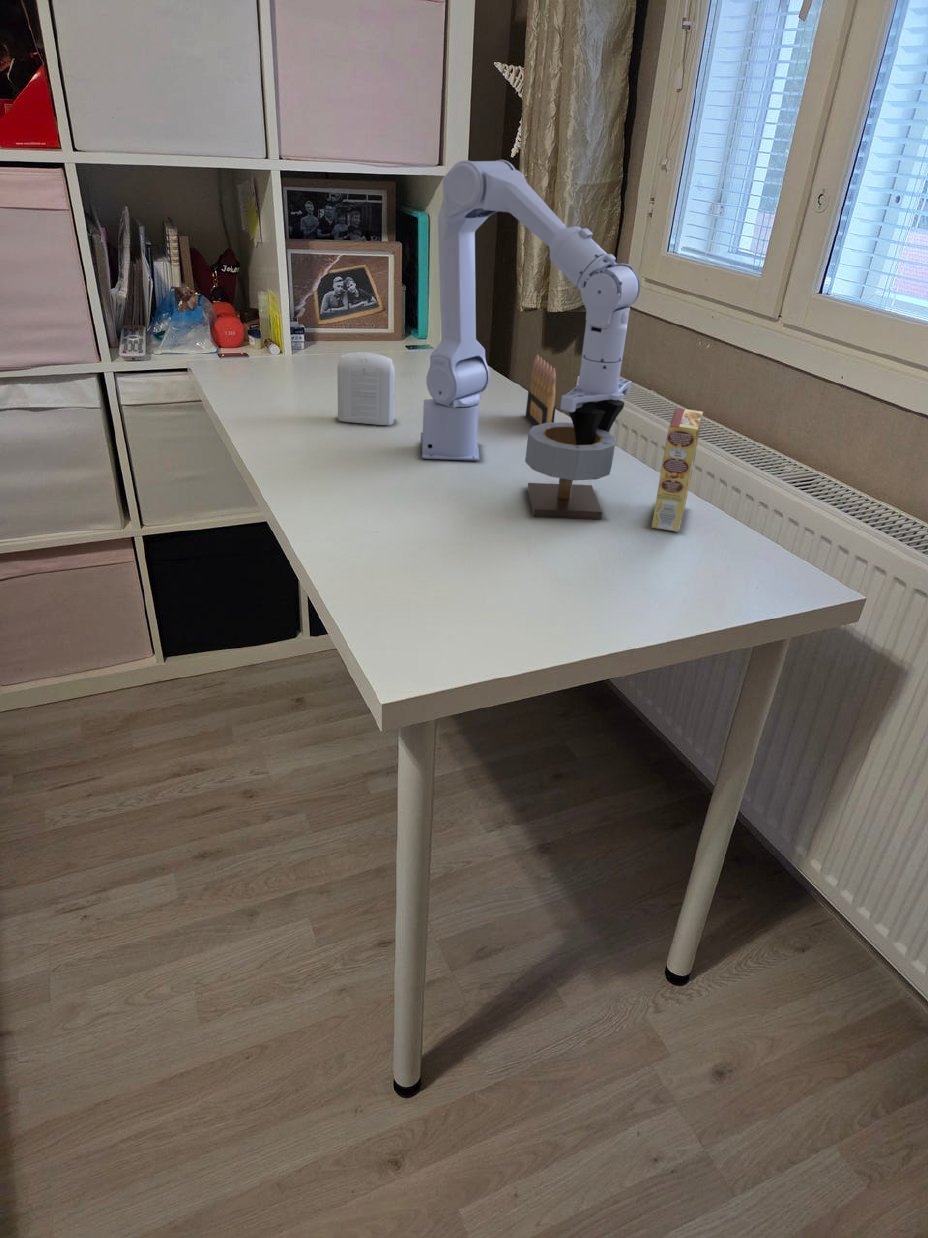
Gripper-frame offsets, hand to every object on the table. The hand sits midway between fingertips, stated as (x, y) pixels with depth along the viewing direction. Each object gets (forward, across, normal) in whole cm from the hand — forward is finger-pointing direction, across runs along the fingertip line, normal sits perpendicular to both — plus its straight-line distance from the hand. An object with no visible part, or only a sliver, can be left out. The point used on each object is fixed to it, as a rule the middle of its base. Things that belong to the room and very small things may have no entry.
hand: (589, 449), depth 127 cm
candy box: (+8, +3, -13) cm, 16 cm away
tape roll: (+1, -5, 0) cm, 5 cm away
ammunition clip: (+8, +20, +26) cm, 34 cm away
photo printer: (+8, -4, +47) cm, 47 cm away
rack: (+8, -5, 0) cm, 9 cm away
